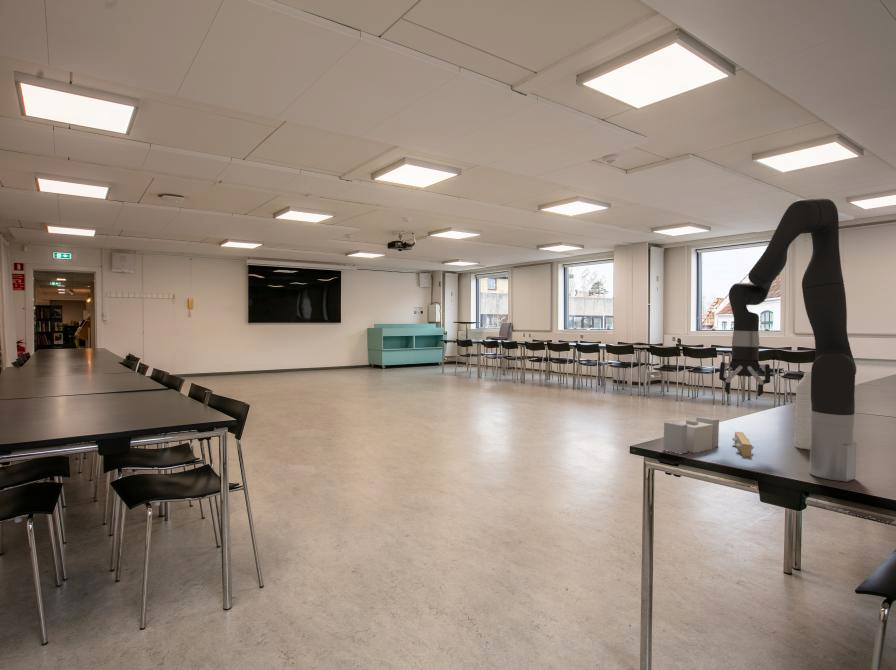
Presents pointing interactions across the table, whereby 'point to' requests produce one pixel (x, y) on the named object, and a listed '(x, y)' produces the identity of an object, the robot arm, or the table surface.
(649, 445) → the table surface
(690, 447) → the notched grey block
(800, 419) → the water bottle
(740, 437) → the tan wooden bar
